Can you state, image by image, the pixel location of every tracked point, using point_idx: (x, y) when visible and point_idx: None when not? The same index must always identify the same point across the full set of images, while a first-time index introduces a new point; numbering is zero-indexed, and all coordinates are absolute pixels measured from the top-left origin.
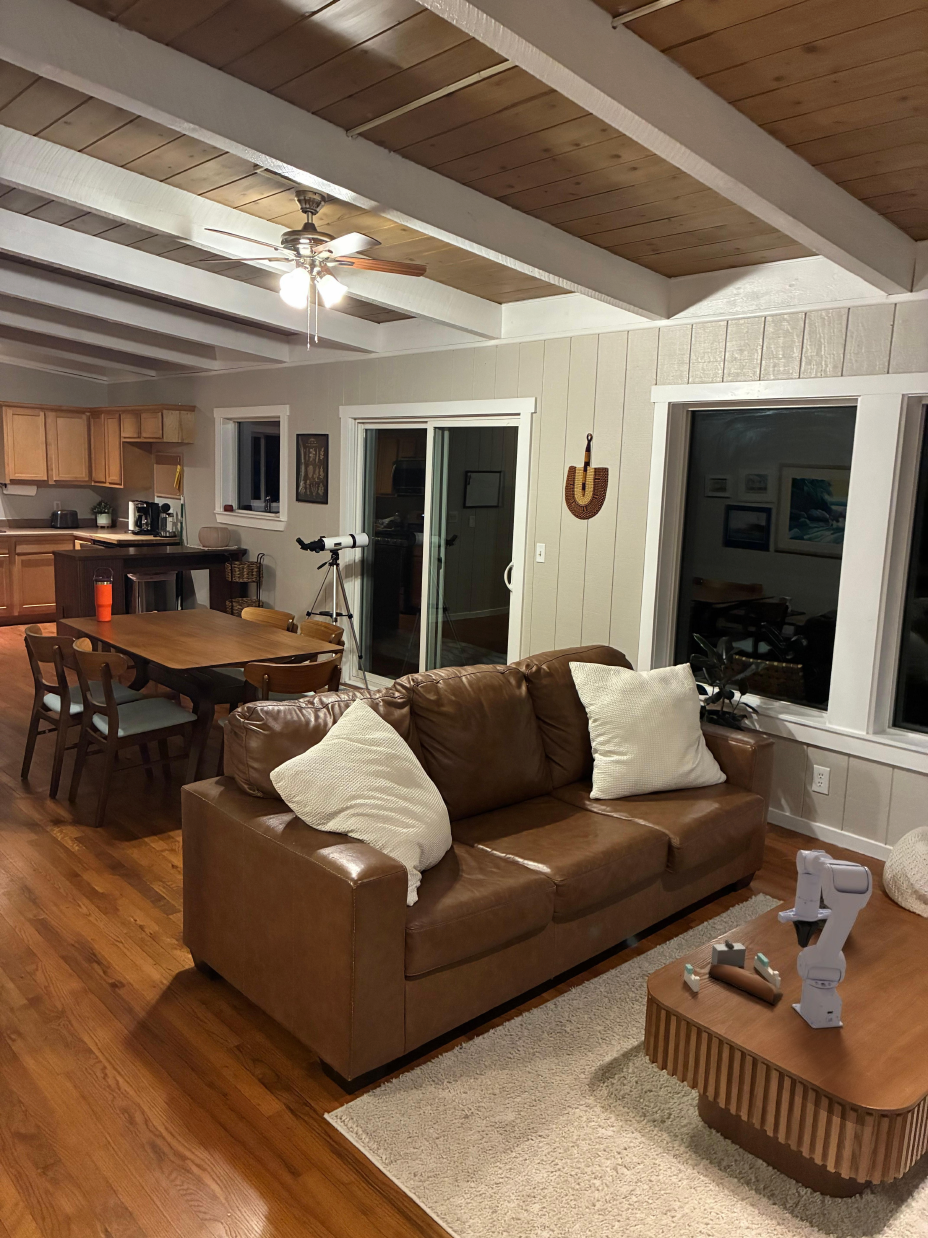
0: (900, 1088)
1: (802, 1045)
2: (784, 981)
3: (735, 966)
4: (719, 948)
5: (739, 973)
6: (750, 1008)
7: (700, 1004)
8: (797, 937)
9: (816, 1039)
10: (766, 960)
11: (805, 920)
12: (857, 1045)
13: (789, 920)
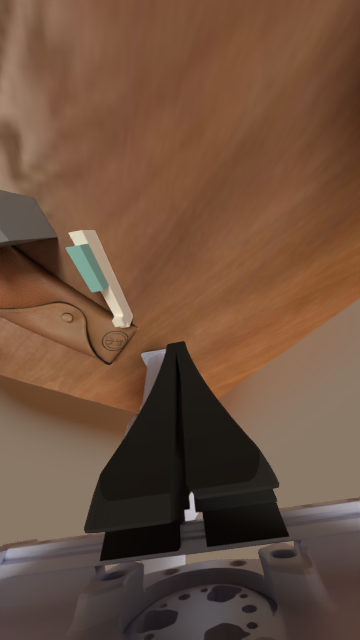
0: None
1: (136, 392)
2: (147, 295)
3: (32, 241)
4: None
5: (38, 332)
6: (84, 359)
7: (10, 359)
8: (162, 364)
9: None
10: (95, 288)
11: (160, 576)
12: None
13: (60, 550)
